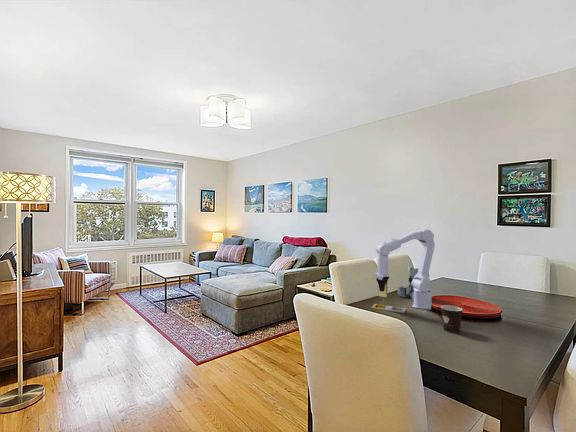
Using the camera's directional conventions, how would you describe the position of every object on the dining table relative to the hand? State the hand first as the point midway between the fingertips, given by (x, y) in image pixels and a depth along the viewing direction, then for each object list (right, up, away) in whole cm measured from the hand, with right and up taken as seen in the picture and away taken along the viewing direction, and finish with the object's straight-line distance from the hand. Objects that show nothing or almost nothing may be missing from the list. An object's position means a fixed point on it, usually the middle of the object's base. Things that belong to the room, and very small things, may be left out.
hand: (382, 290), depth 170 cm
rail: (+3, -10, -2) cm, 11 cm away
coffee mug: (+21, -10, -31) cm, 39 cm away
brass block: (0, -3, 0) cm, 3 cm away
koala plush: (+28, -10, +21) cm, 37 cm away
